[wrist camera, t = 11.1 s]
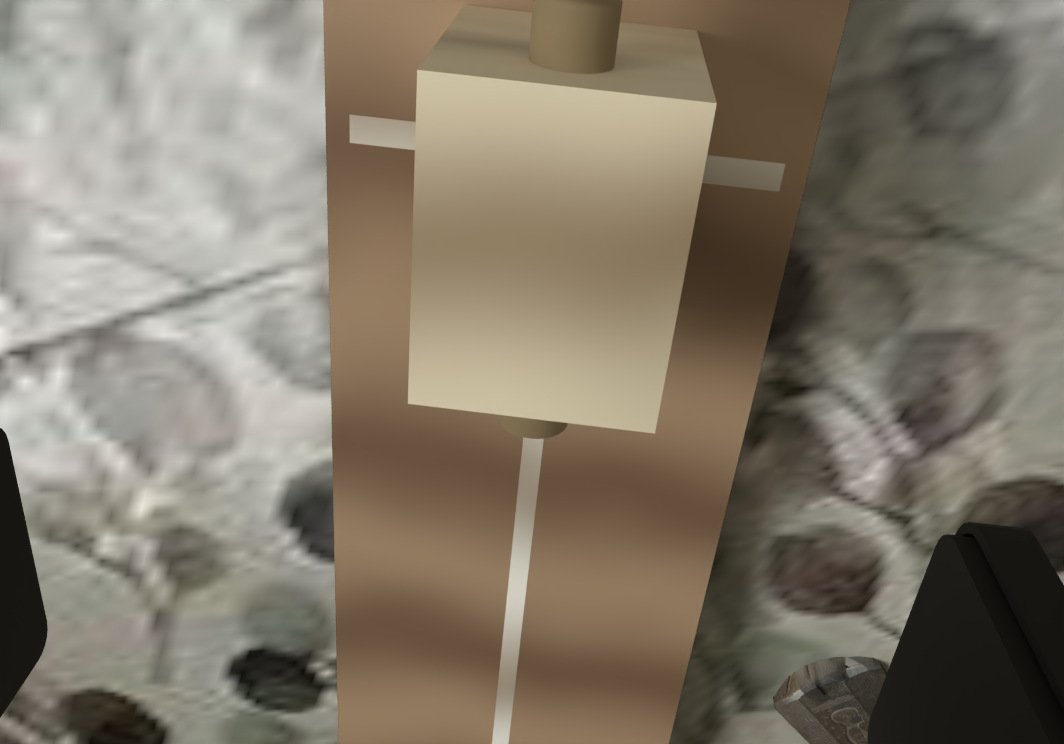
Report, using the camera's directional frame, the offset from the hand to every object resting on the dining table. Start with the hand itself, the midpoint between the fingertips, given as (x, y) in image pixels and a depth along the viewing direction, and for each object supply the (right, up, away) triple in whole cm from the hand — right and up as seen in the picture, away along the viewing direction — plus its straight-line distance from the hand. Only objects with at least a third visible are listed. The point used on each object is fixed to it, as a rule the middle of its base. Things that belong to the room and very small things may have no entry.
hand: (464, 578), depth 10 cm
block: (+11, -9, +22) cm, 26 cm away
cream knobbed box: (+1, +6, +11) cm, 12 cm away
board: (+1, 0, +17) cm, 17 cm away
